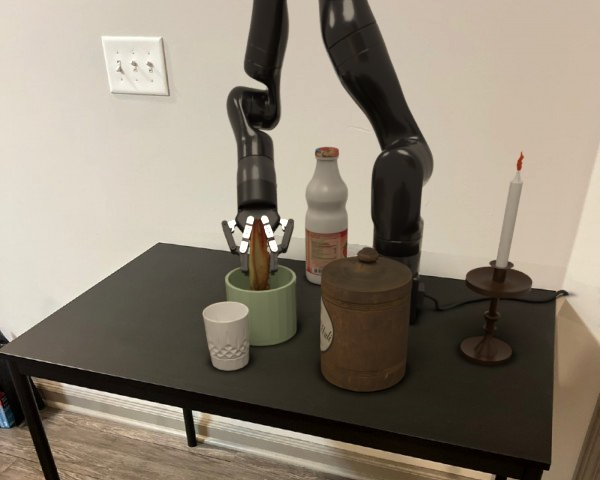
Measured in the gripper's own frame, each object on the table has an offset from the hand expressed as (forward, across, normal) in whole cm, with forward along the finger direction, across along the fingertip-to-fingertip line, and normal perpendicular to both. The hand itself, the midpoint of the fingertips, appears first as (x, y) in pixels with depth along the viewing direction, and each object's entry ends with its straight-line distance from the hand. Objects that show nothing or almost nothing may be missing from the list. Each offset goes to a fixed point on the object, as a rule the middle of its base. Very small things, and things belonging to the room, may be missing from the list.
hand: (259, 273), depth 111 cm
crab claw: (+6, 0, +9) cm, 10 cm away
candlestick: (+16, +41, +1) cm, 44 cm away
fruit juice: (-9, +14, +27) cm, 32 cm away
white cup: (+16, -6, +2) cm, 17 cm away
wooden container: (+19, +18, -2) cm, 26 cm away
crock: (+8, 0, +10) cm, 13 cm away
